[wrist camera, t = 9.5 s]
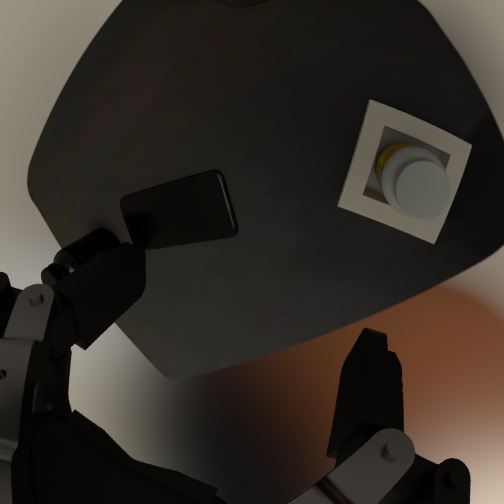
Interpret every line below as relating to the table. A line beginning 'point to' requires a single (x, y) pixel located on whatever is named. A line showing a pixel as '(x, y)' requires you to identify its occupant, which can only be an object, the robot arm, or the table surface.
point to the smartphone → (180, 212)
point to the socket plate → (365, 155)
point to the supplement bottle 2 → (413, 180)
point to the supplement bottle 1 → (78, 255)
